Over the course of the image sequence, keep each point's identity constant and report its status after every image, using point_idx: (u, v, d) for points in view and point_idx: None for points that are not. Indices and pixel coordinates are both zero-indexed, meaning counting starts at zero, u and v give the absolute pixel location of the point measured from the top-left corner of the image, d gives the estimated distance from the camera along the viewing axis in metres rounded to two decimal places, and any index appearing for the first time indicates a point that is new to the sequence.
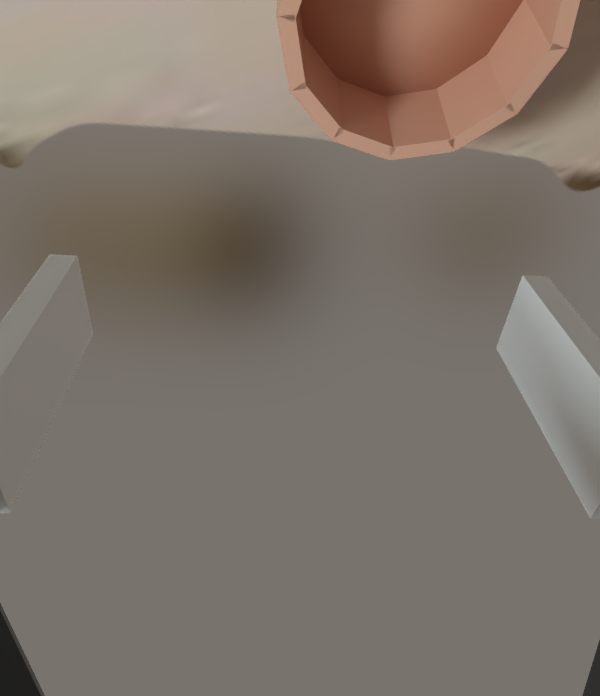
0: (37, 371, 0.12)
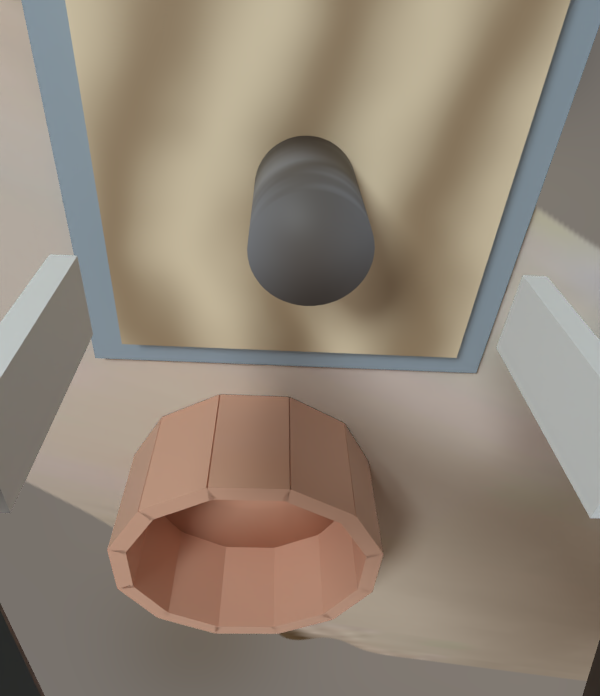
0: (37, 371, 0.12)
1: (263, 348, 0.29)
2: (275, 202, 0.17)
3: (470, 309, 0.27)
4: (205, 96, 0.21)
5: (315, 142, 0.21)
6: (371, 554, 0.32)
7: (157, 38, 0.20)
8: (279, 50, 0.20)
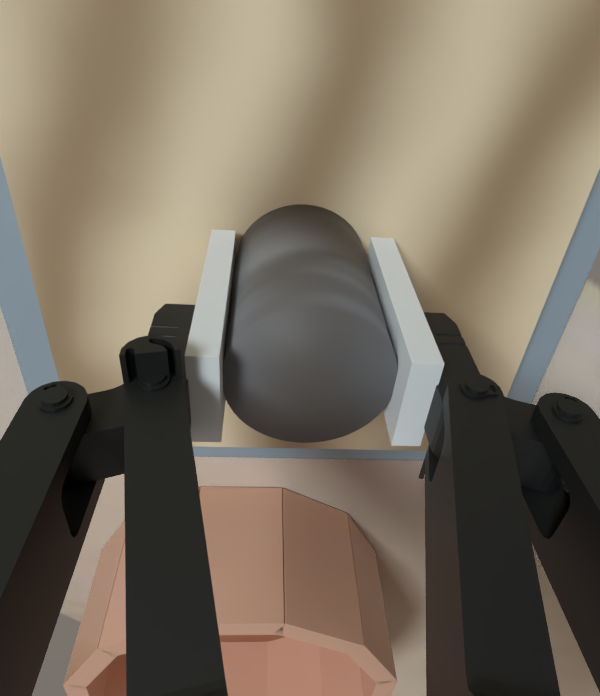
0: (227, 326, 0.14)
1: (250, 445, 0.23)
2: (258, 322, 0.12)
3: None
4: (167, 157, 0.16)
5: (313, 215, 0.16)
6: (382, 681, 0.26)
7: (99, 84, 0.15)
8: (264, 99, 0.15)
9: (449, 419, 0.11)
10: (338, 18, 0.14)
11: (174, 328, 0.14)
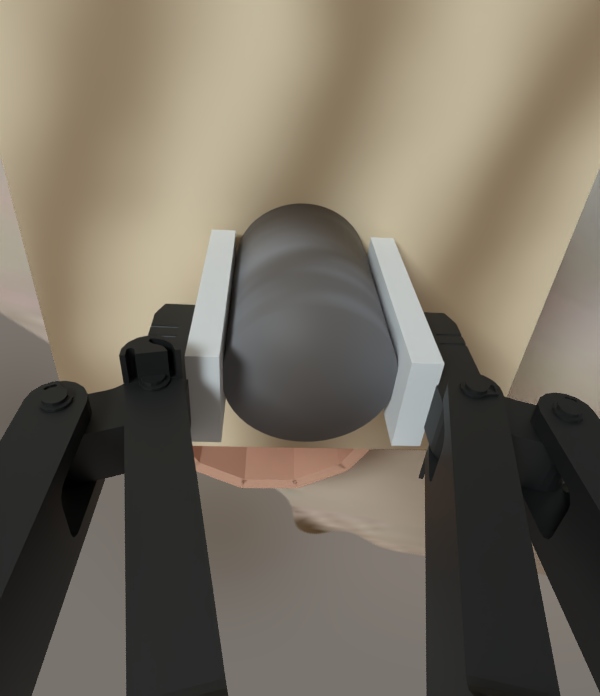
0: None
1: (250, 445, 0.23)
2: (258, 320, 0.12)
3: None
4: (167, 156, 0.16)
5: (313, 214, 0.16)
6: None
7: (99, 83, 0.15)
8: (264, 97, 0.15)
9: (449, 419, 0.11)
10: (338, 17, 0.14)
11: (174, 328, 0.14)
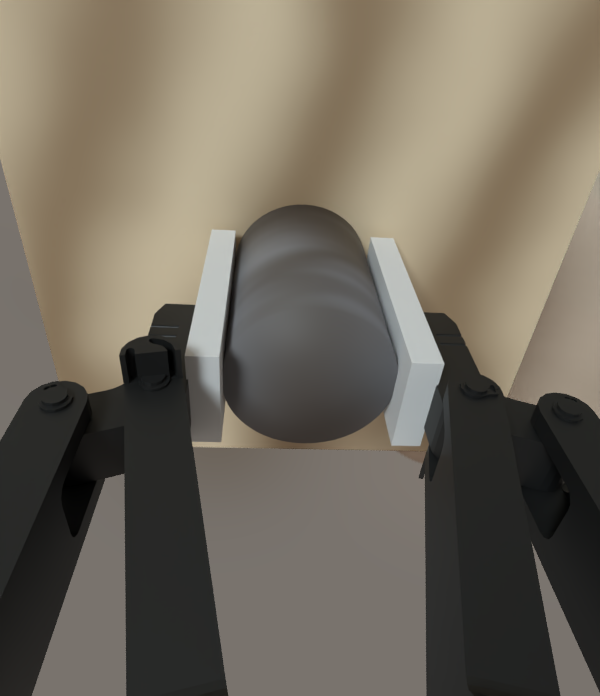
0: None
1: (250, 446, 0.23)
2: (258, 322, 0.12)
3: None
4: (167, 157, 0.16)
5: (313, 215, 0.16)
6: None
7: (98, 84, 0.14)
8: (264, 98, 0.15)
9: (449, 419, 0.11)
10: (338, 18, 0.14)
11: (174, 328, 0.14)
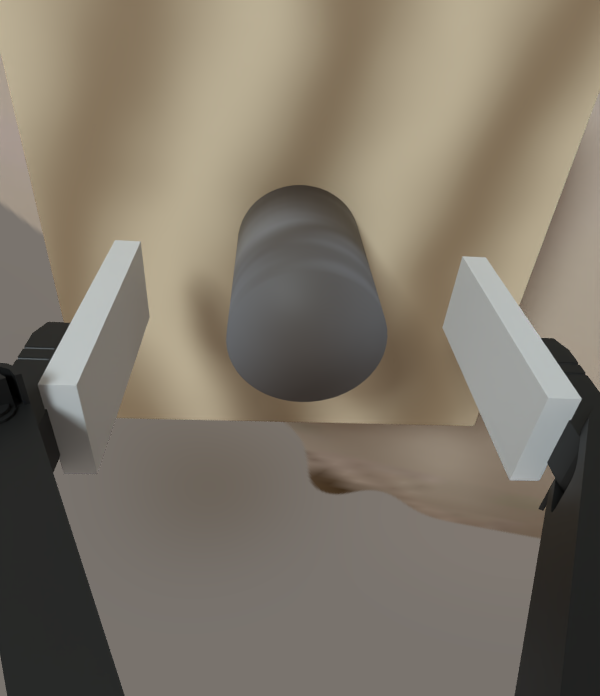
0: (115, 346, 0.13)
1: (251, 419, 0.25)
2: (260, 285, 0.13)
3: None
4: (175, 140, 0.17)
5: (310, 194, 0.17)
6: None
7: (113, 71, 0.16)
8: (265, 85, 0.16)
9: (584, 450, 0.10)
10: (333, 10, 0.15)
11: (49, 350, 0.13)
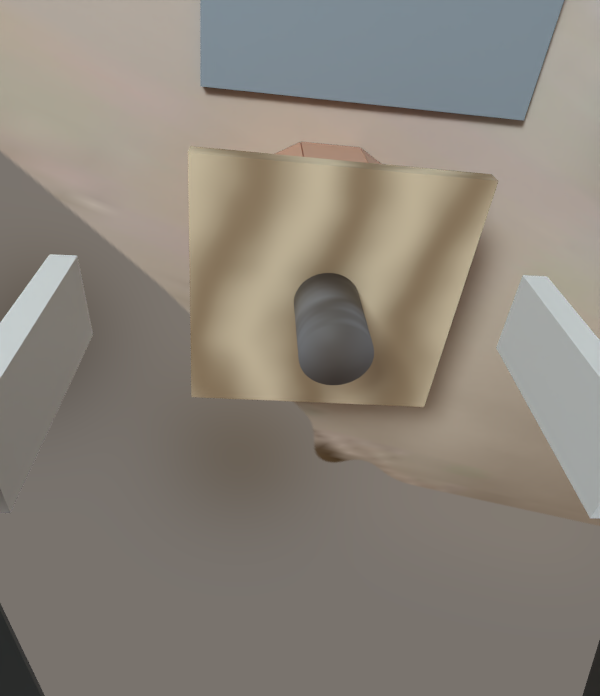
0: (37, 371, 0.12)
1: (290, 400, 0.41)
2: (317, 330, 0.30)
3: (433, 375, 0.40)
4: (267, 250, 0.33)
5: (335, 279, 0.34)
6: None
7: (242, 220, 0.32)
8: (315, 227, 0.33)
9: None
10: (351, 197, 0.32)
11: None
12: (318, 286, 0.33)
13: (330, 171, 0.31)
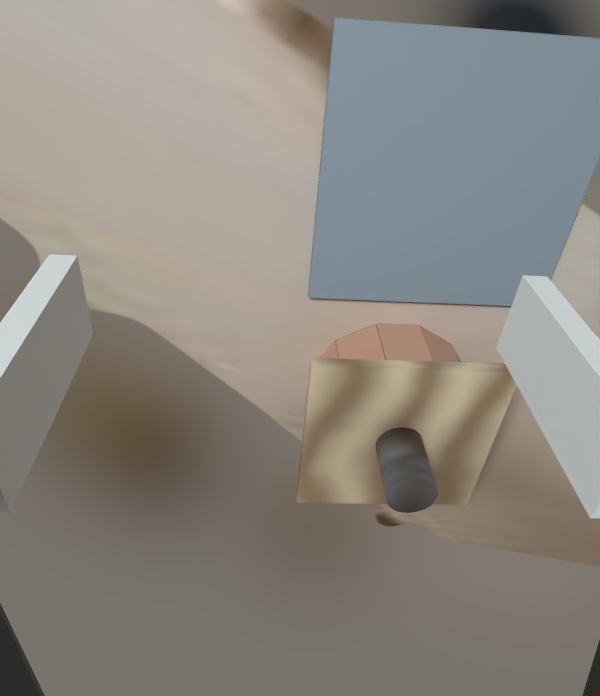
0: (37, 371, 0.12)
1: (368, 502, 0.55)
2: (400, 483, 0.44)
3: (474, 485, 0.54)
4: (359, 416, 0.48)
5: (407, 434, 0.48)
6: None
7: (343, 401, 0.47)
8: (394, 402, 0.47)
9: None
10: (419, 385, 0.46)
11: None
12: (395, 440, 0.48)
13: (406, 372, 0.45)
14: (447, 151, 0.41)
